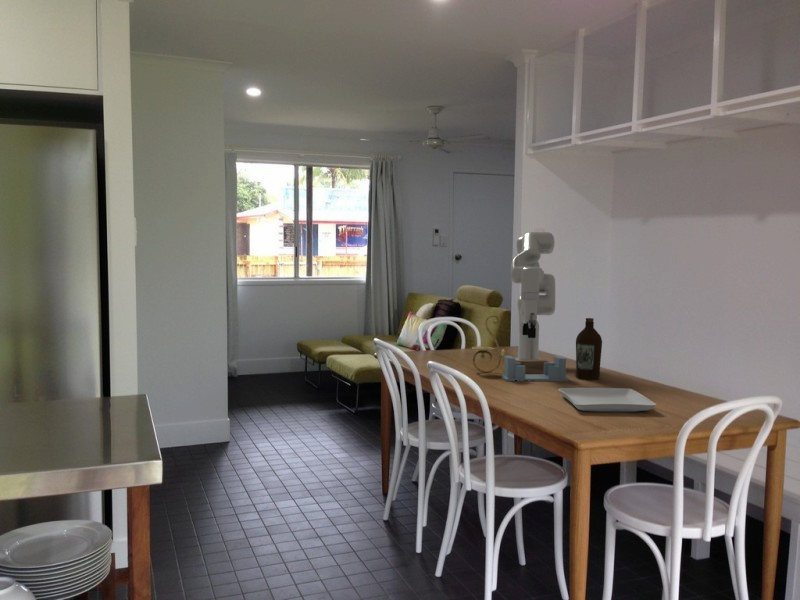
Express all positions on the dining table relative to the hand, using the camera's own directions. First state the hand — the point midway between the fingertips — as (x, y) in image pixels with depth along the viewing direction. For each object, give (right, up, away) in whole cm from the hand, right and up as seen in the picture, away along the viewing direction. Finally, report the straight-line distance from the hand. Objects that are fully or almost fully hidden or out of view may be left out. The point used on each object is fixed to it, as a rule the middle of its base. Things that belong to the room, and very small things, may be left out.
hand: (528, 336), depth 302 cm
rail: (0, -16, +1) cm, 16 cm away
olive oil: (+23, -17, -6) cm, 30 cm away
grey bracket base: (+1, -17, -10) cm, 19 cm away
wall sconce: (-17, -16, +3) cm, 24 cm away
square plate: (+16, -21, -55) cm, 62 cm away
